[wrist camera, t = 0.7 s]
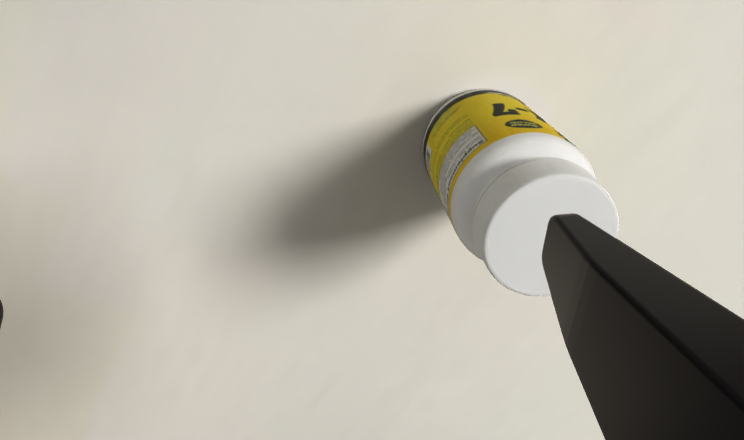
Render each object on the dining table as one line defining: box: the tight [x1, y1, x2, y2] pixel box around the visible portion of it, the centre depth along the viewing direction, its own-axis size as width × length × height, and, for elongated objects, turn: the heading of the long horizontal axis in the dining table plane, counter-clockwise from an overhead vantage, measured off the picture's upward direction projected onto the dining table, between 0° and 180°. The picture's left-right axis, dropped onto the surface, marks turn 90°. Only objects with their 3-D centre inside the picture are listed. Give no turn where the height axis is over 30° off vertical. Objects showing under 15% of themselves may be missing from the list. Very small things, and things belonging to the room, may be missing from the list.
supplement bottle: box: [423, 89, 619, 296], centre depth 20 cm, size 5×5×8 cm
